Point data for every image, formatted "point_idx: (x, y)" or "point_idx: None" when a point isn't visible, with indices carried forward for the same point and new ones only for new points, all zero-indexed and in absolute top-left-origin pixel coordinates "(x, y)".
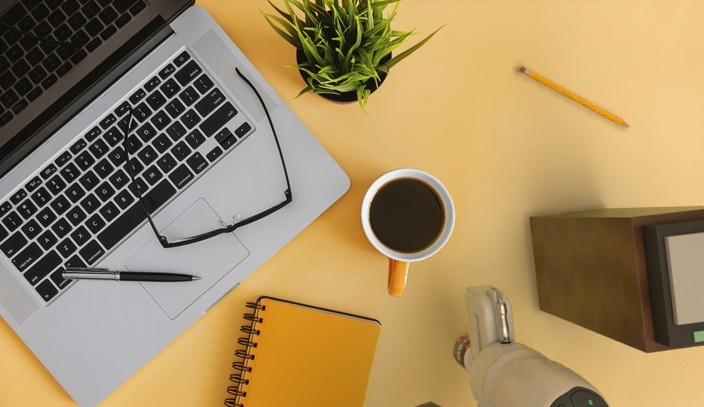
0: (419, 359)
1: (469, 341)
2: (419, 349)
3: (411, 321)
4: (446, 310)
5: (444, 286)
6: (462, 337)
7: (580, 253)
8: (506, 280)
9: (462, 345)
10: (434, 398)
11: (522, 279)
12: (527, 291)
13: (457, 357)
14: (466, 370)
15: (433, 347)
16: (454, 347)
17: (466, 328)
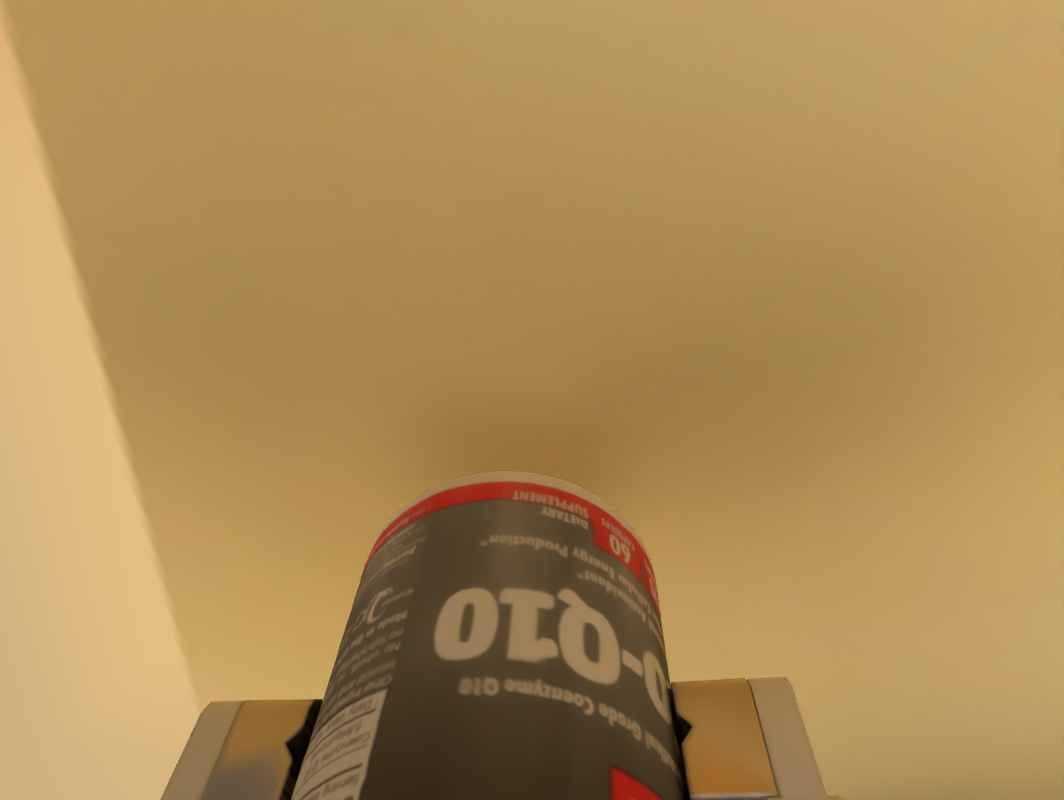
0: (398, 139)
1: (674, 777)
2: (489, 141)
3: (762, 65)
4: (802, 377)
5: (1005, 369)
6: (646, 583)
7: None
8: (915, 717)
9: (618, 683)
10: (88, 262)
11: (895, 780)
12: None
13: (465, 586)
14: (326, 773)
15: (506, 267)
16: (549, 510)
17: (795, 703)
